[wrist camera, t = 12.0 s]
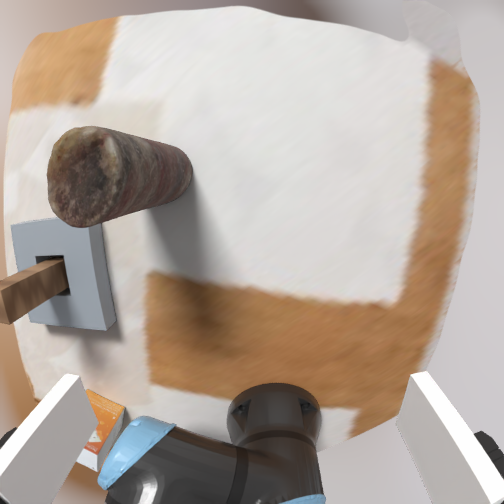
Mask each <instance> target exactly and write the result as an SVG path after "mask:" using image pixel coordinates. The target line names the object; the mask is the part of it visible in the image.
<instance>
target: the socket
mask: <svg viewBox="0 0 504 504" xmlns="http://www.w3.org/2000/svg"><path fill="white" fill-rule="evenodd" d="M11 231H12V239H13V246H14V252H15V258H16V264H17V269H18V272H20V271H23V270H25V269H27V268H29V267H32V266H34V265H36V264H38V263H41V262H43V261H45V260H48V259H50V257H49V255H64V260H65V266H66V272H67V277H68V282H69V287H70V288H66V289H65V290H63V291H61V292H60V293H58V294H57V295H55V296H53V297H52V298H50V299H49V300H47V301H45V302H44V303H42V304H41V305H39V306H38V307H36V308H34V309H33V310H31V311H30V312H28V315H29V319H30V322H32V323H40V324H47V325H55V326H64V327H73V328H83V329H94V330H106V331H107V330H108V329H109V328H110V327H111V326H112V324H113V323H114V322H115V321H116V315H115V310H114V305H113V300H112V295H111V289H110V284H109V278H108V272H107V265H106V259H105V251H104V244H103V236H102V227H101V223H100V224H97V225H94V226H91V227H87V228H76V227H72V226H70V225H68V224H66V223H65V222H64V221H62V220H61V219H59V218H58V217H56V218H48V219H41V220H33V221H26V222H21V223H17V224H13V225H11Z"/></svg>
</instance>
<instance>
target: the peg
mask: <svg viewBox="0 0 504 504" xmlns="http://www.w3.org/2000/svg"><path fill="white" fill-rule="evenodd" d="M68 287H69V282H68V277H67V272H66V266H65V260H64V256H60V257H52V258H50V259H48V260H45V261H43V262H41V263H38V264H36V265H34V266H32V267H29V268H27V269H25V270H23V271H20V272H18V273H16V274H14V275H12V276H9V277H7V278H5V279H3V280H1V281H0V323H4V324H9V325H10V324H12V323H13V322H15V321H16V320H18V319H19V318H21V317H22V316H24V315H25V314H27V313H28V312H30V311H31V310H33V309H34V308H36V307H38V306H39V305H41V304H42V303H44V302H45V301H47V300H49V299H50V298H52V297H53V296H55V295H57V294H58V293H60V292H61V291H63V290H65V289H66V288H68Z"/></svg>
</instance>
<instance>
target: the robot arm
mask: <svg viewBox="0 0 504 504" xmlns="http://www.w3.org/2000/svg"><path fill="white" fill-rule="evenodd" d="M98 424H99V422H98V420H97V418H96V415H95V413H94V411H93V408H92V406H91V404H90V401H89V399H88V396H87V394H86V391H85V389H84V386H83V384H82V381H81V378H80V376H76V375H71V374H65V375H64V376H63V377H62V379H61V380H60V381H59V382H58V383H57V384H56V385H55V386H54V387H53V388H52V390H51V391H50V392H49V393H48V394H47V395H46V396H45V397H44V399H43V400H42V401H41V402H40V403H39V404H38V405H37V406H36V408H35V409H34V410H33V411H32V412H31V413H30V415H29V416H28V417H27V418H26V419H25V421H24V422H23V423H22V424H21V425H20V426H19V427H18V428H16V427H15V428H13V429H12V430H11V431H9V432H7V433H6V434H5V435H4V436H3V437H2V438H1V440H0V504H52V502H53V500H54V498H55V496H56V495H57V493H58V491H59V490H60V488H61V486H62V484H63V483H64V481H65V479H66V477H67V476H68V474H69V472H70V470H71V469H72V467H73V465H74V464H75V462H76V460H77V459H78V457H79V455H80V454H81V452H82V450H83V449H84V447H85V445H86V444H87V442H88V440H89V439H90V437H91V435H92V434H93V432H94V430H95V429H96V427H97V425H98ZM396 425H397V427H398V430H399V432H400V434H401V436H402V437H403V440H404V442H405V444H406V446H407V448H408V450H409V453H410V455H411V457H412V459H413V461H414V463H415V466H416V468H417V470H418V472H419V475H420V477H421V479H422V481H423V484H424V486H425V488H426V490H427V493H428V495H429V497H430V499H431V502H432V504H504V454H503V452H502V451H501V450H500V449H498V448H499V447H498V445H497V444H496V443H495V441H494V440H493V439H492V438H491V437H490V436H489V435H487V434H486V433H484V432H483V431H480V432H477V433H475V434H473V433H472V432H471V430H470V429H469V427H468V426H467V425H466V423H465V422H464V420H463V419H462V418H461V416H460V415H459V413H458V412H457V411H456V409H455V408H454V407H453V405H452V404H451V402H450V401H449V400H448V398H447V397H446V396H445V394H444V393H443V392H442V390H441V389H440V388H439V387H438V385H437V384H436V383H435V381H434V380H433V379H432V377H431V376H430V375H429V374H428V372H427V371H425V372H420V373H415V374H410V378H409V382H408V386H407V389H406V393H405V396H404V399H403V403H402V406H401V409H400V412H399V415H398V418H397V421H396ZM320 426H321V413H320V408H319V405H318V402H317V400H316V399H315V398H314V396H313V395H311V394H310V393H309V392H308V391H306V390H304V389H302V388H300V387H297V386H294V385H290V384H284V383H269V384H262V385H258V386H255V387H252V388H249V389H247V390H245V391H244V392H242V393H241V394H239V395H238V396H237V397H236V398H235V399H234V400H233V401H232V403H231V404H230V406H229V409H228V415H227V429H228V432H229V435H230V438H231V441H232V444H229V443H225V442H222V441H219V440H215V439H212V438H209V437H206V436H203V435H200V434H197V433H194V432H191V431H188V430H185V429H182V428H180V427H177V425H176V424H174V423H173V424H169V423H166V422H163V421H160V420H158V419H155V418H152V417H149V416H140V417H137V418H136V419H134V420H133V421H132V422H131V423H130V424H129V425H128V426H127V427H126V428H125V430H124V431H123V432H122V434H121V435H120V437H119V438H118V440H117V441H116V443H115V444H114V446H113V448H112V449H111V451H110V453H109V455H108V457H107V458H106V460H105V462H104V464H103V467H102V469H101V473H100V475H99V477H98V484H99V485H100V486H101V487H102V488H103V489H104V490H108V494H107V497H106V500H105V504H325V501H326V497H325V496H324V493H323V487H322V482H321V475H320V470H319V464H318V458H317V453H316V447H315V446H316V442H317V438H318V434H319V430H320Z"/></svg>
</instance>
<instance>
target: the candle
mask: <svg viewBox="0 0 504 504" xmlns="http://www.w3.org/2000/svg"><path fill="white" fill-rule="evenodd" d="M191 175H192V166H191V162H190V160H189V158H188V157H187V155H186V154H185V153H184V152H183V151H182V150H180V149H179V148H177V147H174V146H171V145H168V144H164V143H161V142H156V141H152V140H148V139H145V138H141V137H137V136H134V135H130V134H126V133H122V132H119V131H115V130H111V129H107V128H101V127H96V126H86V127H81V128H73V129H71V130H69V131H67V132H66V133H64V134H63V135H62V136H61V138H60V139H59V140H58V141H57V142H56V143H55V144H54V146H53V149H52V154H51V157H50V159H49V164H48V171H47V179H48V200H49V203H50V206H51V208H52V210H53V212H54V213H55V214H56V216H57V217H58V218H59V219H61V220H62V221H64V222H65V223H66V224H68V225H70V226H72V227H76V228H87V227H91V226H94V225H97V224H100V223H102V222H106V221H109V220H112V219H115V218H118V217H121V216H124V215H127V214H130V213H134V212H137V211H140V210H144V209H148V208H151V207H155V206H159V205H162V204H165V203H168V202H171V201H174V200H175V199H177V198H178V197H179V196H181V195H182V194H183V193H184V191H185V190H186V189H187V187H188V185H189V182H190V179H191Z"/></svg>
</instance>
